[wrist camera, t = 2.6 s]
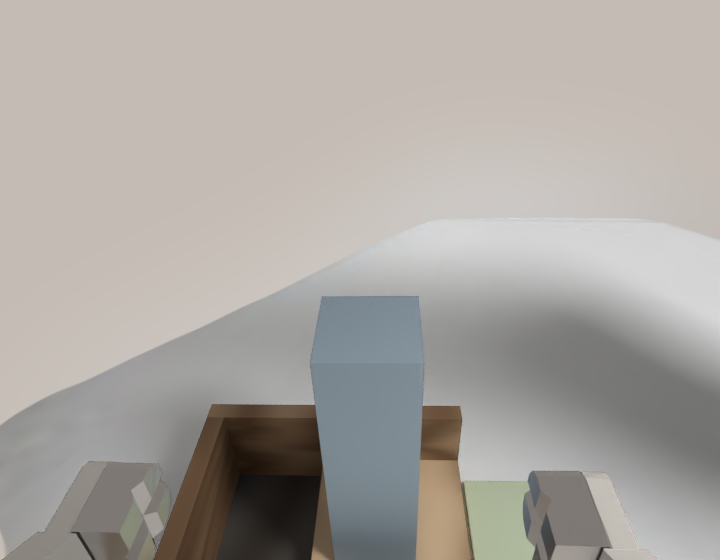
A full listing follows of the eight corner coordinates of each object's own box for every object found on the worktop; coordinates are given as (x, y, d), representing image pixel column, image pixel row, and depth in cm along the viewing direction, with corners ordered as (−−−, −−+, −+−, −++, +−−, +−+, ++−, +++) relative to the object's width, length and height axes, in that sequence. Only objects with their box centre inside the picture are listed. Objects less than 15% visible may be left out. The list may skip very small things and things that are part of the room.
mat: (597, 486, 38) (599, 482, 38) (655, 638, 30) (658, 634, 30) (463, 484, 39) (463, 480, 39) (483, 633, 31) (484, 629, 30)
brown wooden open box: (453, 467, 40) (460, 406, 36) (477, 662, 29) (490, 604, 25) (229, 464, 41) (211, 404, 37) (173, 650, 30) (140, 593, 27)
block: (412, 493, 36) (418, 296, 26) (415, 565, 32) (424, 363, 22) (341, 491, 36) (322, 296, 27) (335, 563, 32) (310, 363, 22)
